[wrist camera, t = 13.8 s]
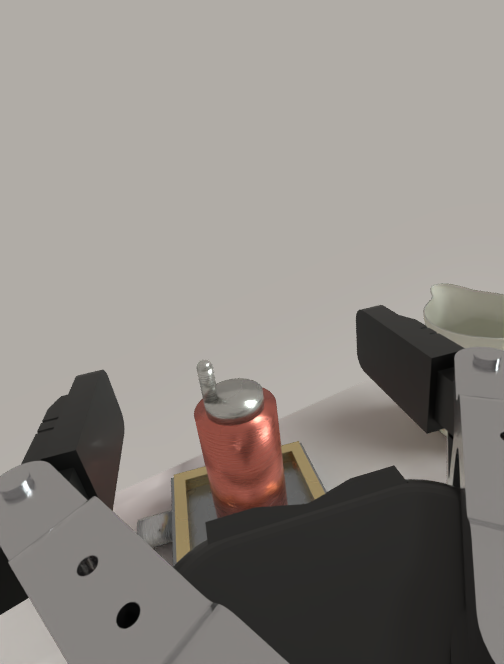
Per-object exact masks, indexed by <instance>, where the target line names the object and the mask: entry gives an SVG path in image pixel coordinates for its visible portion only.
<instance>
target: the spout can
mask: <svg viewBox="0 0 504 664" xmlns="http://www.w3.org/2000/svg"><path fill="white" fill-rule="evenodd" d="M197 372H198V377H199V382H200V387H201V391H202V395H203V399H202V400H201V401H200V402H199V403H198V404H197V406H196V408H195V411H194V417H195V421H196V426H197V430H198V435H199V439H200V443H201V448H202V453H203V457H204V462H205V466H206V470H207V475H208V479H209V484H210V488H211V493H212V497H213V501H214V506H215V510H216V515H217V518H221V517H224V516H227V515H231V514H234V513H237V512H241V511H244V510H247V509H251V508H254V507H269V506H283V505H288V502H287V493H286V485H285V476H284V467H283V458H282V449H281V441H280V432H279V423H278V415H277V406H276V400H275V397H274V396H273V394H272V393H271V392H270V391H268V390H266V389H265V388H262V387H261V386H260V384H258V383H257V382H255V381H253V380H249V379H241V378H238V379H229V380H225V381H222V382H220V383H217V384H216V383H215V377H214V372H213V367H212V364H211V362H210V361H208V360H202V361H200V362H199V363H198V365H197Z"/></svg>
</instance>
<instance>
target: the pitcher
mask: <svg viewBox="0 0 504 664" xmlns="http://www.w3.org/2000/svg"><path fill="white" fill-rule="evenodd" d="M431 294H432V298H431V300H430V301H429V302H428V303H427V304H426V306H425V307H424V311H423V312H424V321H425V325H426V326H427V328H431V329H433V330H434V331H436V332H437V334H438V333H439V334H441V335H443V336H445V337H446V338H448V339H450V340H451V341H453V342H455V343H457V344H458V345H460V346H462V347H463V348H469V347H490V348H496V349H500V350H503V351H504V295H503V294H498V293H491V292H483V291H477V290H472V289H469V288H465V287H461V286H457V285H453V284H436V285H433V286H432V287H431ZM440 432H441V433H442V434H444V435H445V436H446V437H447V430H446V429H441V430H440Z"/></svg>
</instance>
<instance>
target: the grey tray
mask: <svg viewBox="0 0 504 664" xmlns="http://www.w3.org/2000/svg"><path fill="white" fill-rule="evenodd" d="M281 449H282V458H283V467H284V476H285V485H286V493H287V502H288V505H297V504H306V503H309V502H311V501H313V500H315V499H317V498H318V497H320V496H322V495H323V494H325V493H327V492H326V490H325V488H324V486H323V484H322V482H321V480H320V479H319V477H318V475H317V473H316V471H315V469H314V467H313V465H312V463H311V461H310V459H309V457H308V455H307V454H306V452H305V450H304V448H303V446H302V444H301V443H299V441H297V442H293V443H290V444H286V445H282V446H281ZM171 492H172V510H171V511H168V512H164V513H161V514H157V515H153V516H150V517H146V518H143V519H139V520H138V523H137V534H138V535H139V536H140V537H141V538H142V539H143V540H144V541H145V542H146V543H147V544H148V545H149V546H151V547H152V548H153V547H156V546H160V545H163V544H166V543H170V542H173V566H174V565H175V564H176V563H177V562H178V561H179V560H180V559H181V558H182V557H183V556H185V555H186V554H187V553H188V552H189V551H191V550H192V549H193V548H195V547H196V546H197V545H199V544H200V543H202V542H204V541H205V540H207V533H206V525H205V522H207V521H211V520H214V519H217V515H216V510H215V506H214V501H213V497H212V493H211V488H210V484H209V479H208V475H207V470H206V466H205V467H201V468H197V469H194V470H190V471H186V472H183V473H179V474H175V475H174V478H171Z"/></svg>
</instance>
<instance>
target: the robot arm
mask: <svg viewBox="0 0 504 664" xmlns="http://www.w3.org/2000/svg"><path fill="white" fill-rule="evenodd" d="M356 333H357V355H358V360H359V363H360V365H361V368H362V369H363V371H364V372H365V373H366V374H367V375H368V376H369V377H370V378H371V379H372V380H373V381H374V382H375V383H376V384H377V385H378V386H379V387H380V388H381V389H382V390H383V391H384V392H385V393H386V394H387V395H388V396H389V397H390V398H391V399H392V400H393V401H394V402H395V403H396V404H397V405H398V406H400V407H401V408H402V409H403V410H404V411H405V412H406V413H407V414H408V415H409V416H410V417H411V418H412V419H413V420H414V421H415V422H416V423H417V424H418V425H419V426H420V427H421V428H422V429H423V430H424V431H425V432H426V433H430V432H434V431H437V430H441V429H446V430H447V441H446V455H447V484H444V483H440V482H435V481H428V480H415V479H408V480H405V479H404V477H403V476H402V475H401V474H400V472H399V471H398V470H397V469H396V467H395V466H391V467H387V468H384V469H381V470H377V471H374V472H371V473H367V474H364V475H361V476H357V477H354V478H351V479H349V480H347V481H345V482H344V483H342V484H340V485H339V486H337V487H335V488H334V489H332V490H330V491H329V492H327V493H325V494H323V495H322V496H320V497H318V498H317V499H315V500H313V501H311V502H309V503H306V504H297V505H283V506H269V507H254V508H251V509H247V510H244V511H241V512H237V513H234V514H231V515H227V516H224V517H221V518H217V519H214V520H211V521H207V522H205V525H206V533H207V540H205V541H204V542H202V543H200V544H199V545H197V546H196V547H195V548H193V549H192V550H191V551H189V552H188V553H187V554H186V555H185V556H183V557H182V558H181V559H180V560H179V561H178V562H177V563H176V564H175V565H174V566H173V567H172V566H171V565H170V564H169V563H168V562H167V561H166V560H165V559H163V558H162V557H161V556H160V555H159V554H158V553H157V552H156V551H155V550H154V549H153V548H152V547H151V546H149V545H148V544H147V543H146V542H145V541H144V540H143V539H142V538H141V537H140V536H139V535H138V534H137V533H135V532H134V531H133V530H132V529H131V528H130V527H129V526H128V525H127V524H126V523H125V522H124V521H123V520H121V519H120V518H119V517H118V516H117V515H116V514H115V513H114V512H113V504H114V498H115V491H116V484H117V478H118V471H119V464H120V458H121V451H122V444H123V438H124V421H123V416H122V413H121V410H120V407H119V404H118V402H117V399H116V397H115V394H114V391H113V388H112V386H111V383H110V381H109V378H108V375H107V373H106V372H105V371H104V370H100V371H95V372H91V373H87V374H83V375H78V376H76V378H75V380H74V382H73V385H72V387H71V389H70V392H69V394H68V395H65V396H61V397H60V398H59V399H58V400H57V401H56V402H55V403H54V404H53V405H52V406H51V407H50V408H49V409H48V410H47V412H46V415H45V417H44V419H43V423H41V425H40V427H39V429H38V434H36V435H35V437H34V439H33V441H32V443H31V445H30V447H29V449H28V451H27V453H26V455H25V457H24V460H23V462H22V464H21V465H19V466H17V467H15V468H13V469H11V470H9V471H7V472H6V473H4V474H3V475H1V476H0V615H1V614H3V613H4V612H6V611H8V610H9V609H11V608H13V607H14V606H16V605H18V604H19V603H21V602H23V601H24V600H26V599H28V598H29V599H30V600H31V602H32V604H33V605H34V607H35V609H36V610H37V612H38V614H39V615H40V617H41V619H42V620H43V622H44V624H45V626H46V627H47V629H48V631H49V632H50V634H51V636H52V637H53V639H54V641H55V642H56V644H57V646H58V647H59V649H60V651H61V652H62V654H63V656H64V658H65V659H66V661H67V663H68V664H504V351H503V350H500V349H496V348H490V347H469V348H463V347H462V346H460V345H458V344H457V343H455V342H453V341H451V340H450V339H448V338H446V337H445V336H443V335H441V334H439V333H438V334H437V332H436V331H434V330H433V329H431V328H427V326H426V325H424V324H422V323H421V322H419V321H417V320H415V319H411V318H408V317H404V316H399V315H398V314H396V313H395V312H393V311H391V310H390V309H388V308H386V307H385V306H383V305H379V306H374V307H370V308H366V309H362V310H359V311H358V312H357V314H356Z"/></svg>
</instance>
